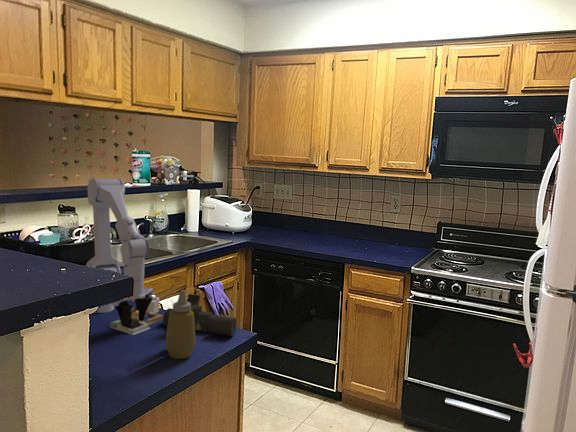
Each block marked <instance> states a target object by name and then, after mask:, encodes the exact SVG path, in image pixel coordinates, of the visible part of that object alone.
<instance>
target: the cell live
mask: <svg viewBox="0 0 576 432" xmlns="http://www.w3.org/2000/svg"><path fill="white" fill-rule="evenodd" d="M137 327H139V309H137V308H136V307H132V308H131V311H130V316H129V325H128V327H127V328H130V329H134V328H137Z"/></svg>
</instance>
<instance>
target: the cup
mask: <svg viewBox="0 0 576 432" xmlns="http://www.w3.org/2000/svg"><path fill="white" fill-rule="evenodd" d="M147 311H149V312H152V313H156V314H157V313H159V312H160V297H158V296H156V299H155V300H154V301H151V303H150V304H149V306H148V308H147Z"/></svg>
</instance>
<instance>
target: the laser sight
mask: <svg viewBox="0 0 576 432" xmlns="http://www.w3.org/2000/svg"><path fill="white" fill-rule="evenodd" d="M187 295H188V296H187V298H186V299H187V302H189V303H191V311H193V312H194V321H195V332H201V333H210V334H212V335H213V334H214V335H221V336H227V337H228V336H229V337H234V336H235V334H236V330H237V327H238V326H237V325H238V324H237V323H238V322H237V321H238V319H237V318H236V317H235V316H234V317H233V316H227V315H225V316H224V315H218V314H213V312H212V311H211V312H210V311H202V308H203V307H202V305H200V298H201V294H195V293H194V294H193V293H188V294H187ZM172 310H173V308H167V309H166V310H165V312H164V314H163V320H162V321H163V326H164V327H167V326H168V319H169V313H170V312H171V311H172Z"/></svg>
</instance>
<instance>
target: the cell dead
mask: <svg viewBox="0 0 576 432" xmlns="http://www.w3.org/2000/svg"><path fill="white" fill-rule="evenodd" d="M149 297H152V301H154V300H155V299H156V297H157V296H156V293H153V295H149Z"/></svg>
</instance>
